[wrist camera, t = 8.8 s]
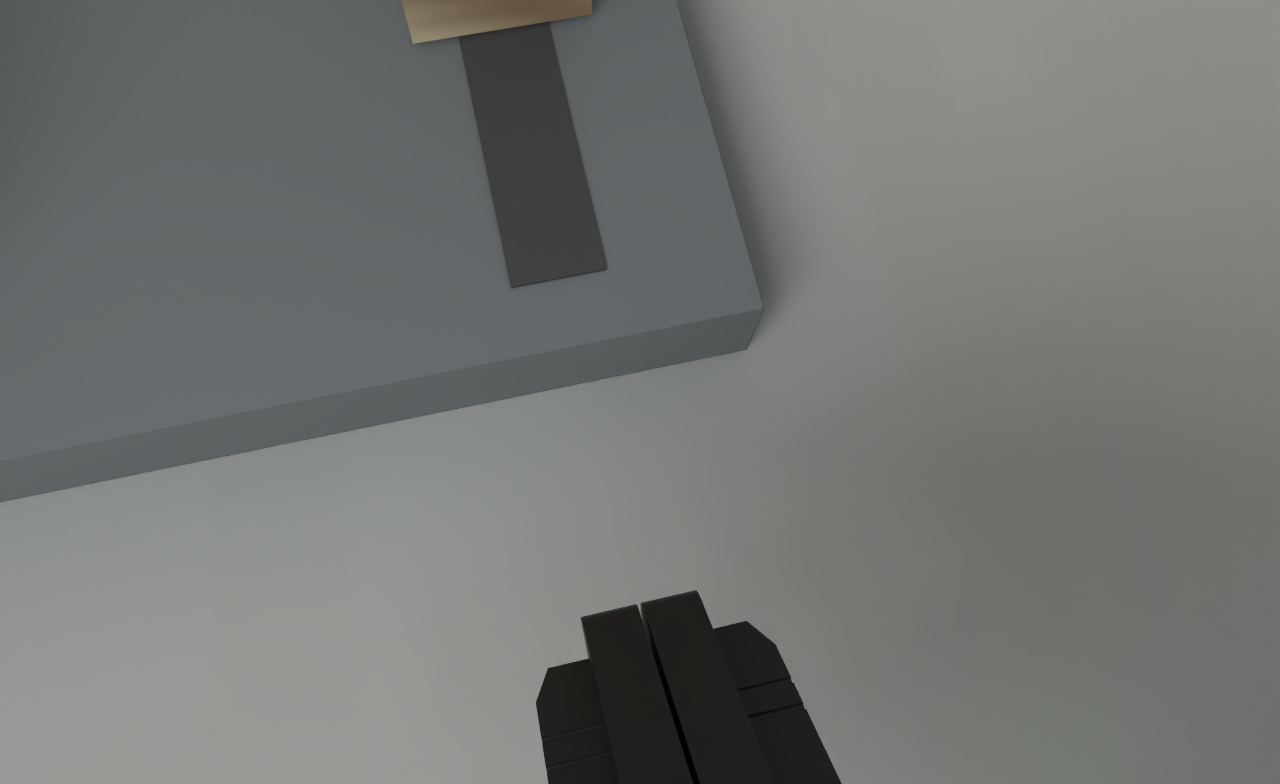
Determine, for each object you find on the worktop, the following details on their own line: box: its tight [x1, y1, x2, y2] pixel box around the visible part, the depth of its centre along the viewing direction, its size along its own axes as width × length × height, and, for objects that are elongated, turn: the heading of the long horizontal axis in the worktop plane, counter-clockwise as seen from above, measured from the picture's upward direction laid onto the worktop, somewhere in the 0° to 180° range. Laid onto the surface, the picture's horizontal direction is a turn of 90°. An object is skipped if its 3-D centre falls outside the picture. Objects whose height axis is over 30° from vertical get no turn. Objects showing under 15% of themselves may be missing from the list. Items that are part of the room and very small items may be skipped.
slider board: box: [0, 0, 764, 502], centre depth 20 cm, size 24×13×10 cm, turn 103°
